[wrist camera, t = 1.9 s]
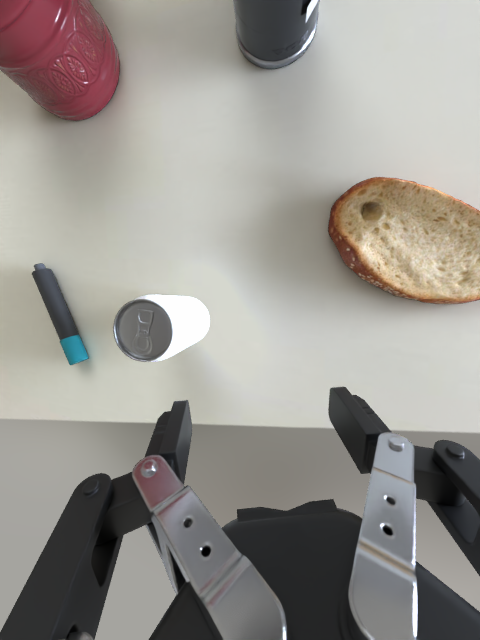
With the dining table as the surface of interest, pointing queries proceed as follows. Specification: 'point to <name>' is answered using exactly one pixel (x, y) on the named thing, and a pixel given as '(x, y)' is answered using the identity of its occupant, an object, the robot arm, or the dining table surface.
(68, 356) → the marker
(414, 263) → the bread slice
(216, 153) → the dining table surface
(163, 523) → the robot arm
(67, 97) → the kitchen canister
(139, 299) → the can
